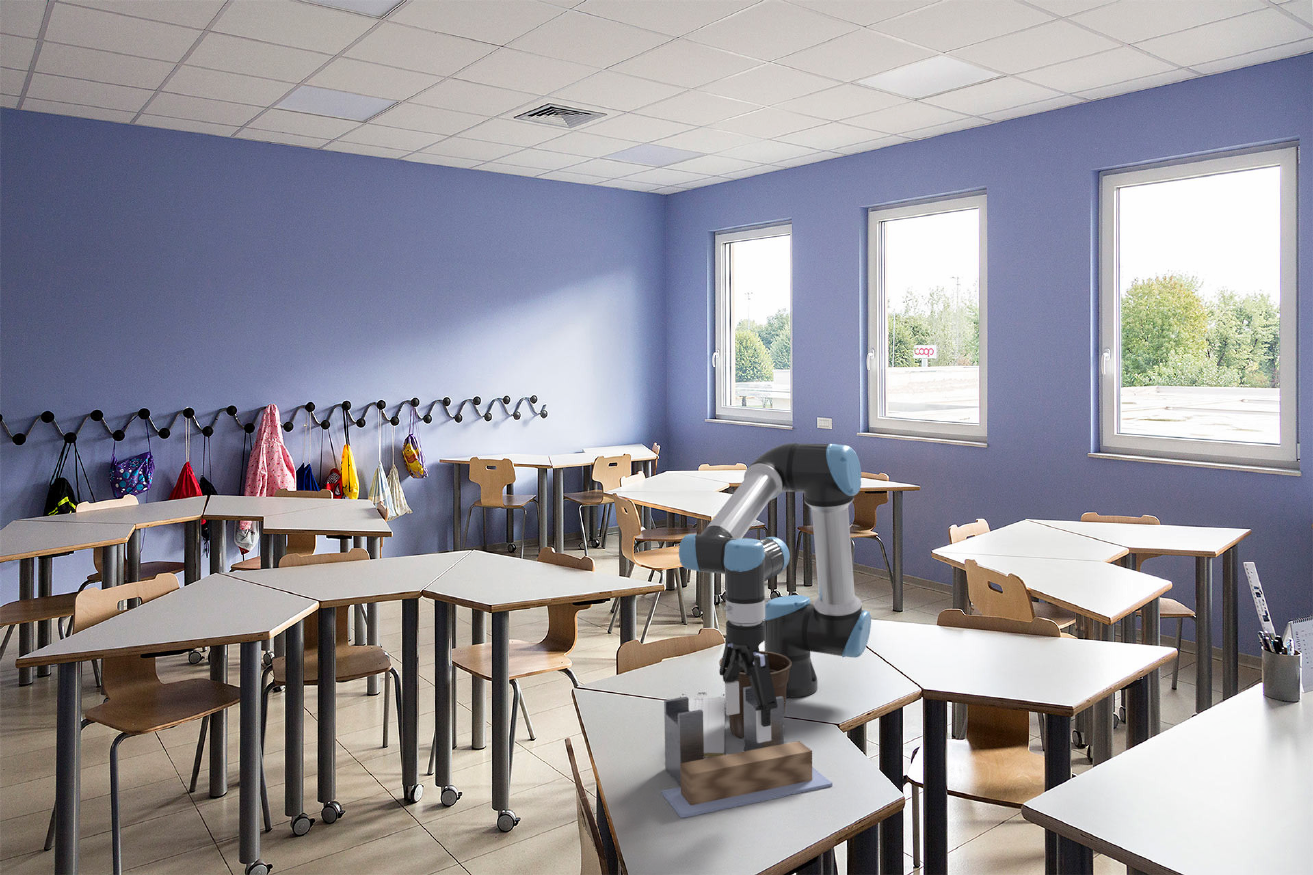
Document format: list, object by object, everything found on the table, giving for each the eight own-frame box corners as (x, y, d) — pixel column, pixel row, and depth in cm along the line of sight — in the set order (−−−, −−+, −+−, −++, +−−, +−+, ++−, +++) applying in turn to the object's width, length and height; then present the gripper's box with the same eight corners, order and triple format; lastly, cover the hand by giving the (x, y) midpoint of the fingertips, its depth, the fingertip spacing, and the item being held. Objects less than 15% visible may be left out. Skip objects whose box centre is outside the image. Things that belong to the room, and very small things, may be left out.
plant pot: (710, 721, 205) (709, 653, 203) (774, 712, 209) (774, 646, 208) (735, 750, 189) (734, 677, 188) (804, 740, 193) (803, 668, 192)
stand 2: (765, 749, 189) (764, 683, 188) (784, 766, 181) (783, 697, 180) (744, 753, 187) (743, 687, 186) (762, 770, 179) (761, 701, 178)
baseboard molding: (667, 759, 187) (724, 759, 186) (667, 745, 187) (724, 746, 186) (676, 703, 218) (724, 703, 217) (676, 691, 218) (724, 692, 217)
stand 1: (687, 764, 183) (686, 696, 182) (704, 781, 175) (703, 711, 174) (665, 768, 181) (664, 700, 180) (680, 786, 173) (679, 715, 172)
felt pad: (806, 764, 182) (806, 761, 182) (832, 785, 172) (832, 782, 172) (661, 793, 170) (661, 790, 170) (681, 817, 161) (681, 814, 161)
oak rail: (799, 769, 178) (799, 740, 178) (812, 780, 174) (812, 750, 173) (680, 793, 169) (680, 763, 169) (690, 805, 164) (690, 774, 164)
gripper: (701, 605, 179) (704, 706, 181) (757, 642, 156) (760, 757, 158) (735, 601, 182) (737, 700, 184) (795, 636, 158) (796, 749, 160)
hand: (747, 726), depth 171 cm, fingers open, 13 cm apart
